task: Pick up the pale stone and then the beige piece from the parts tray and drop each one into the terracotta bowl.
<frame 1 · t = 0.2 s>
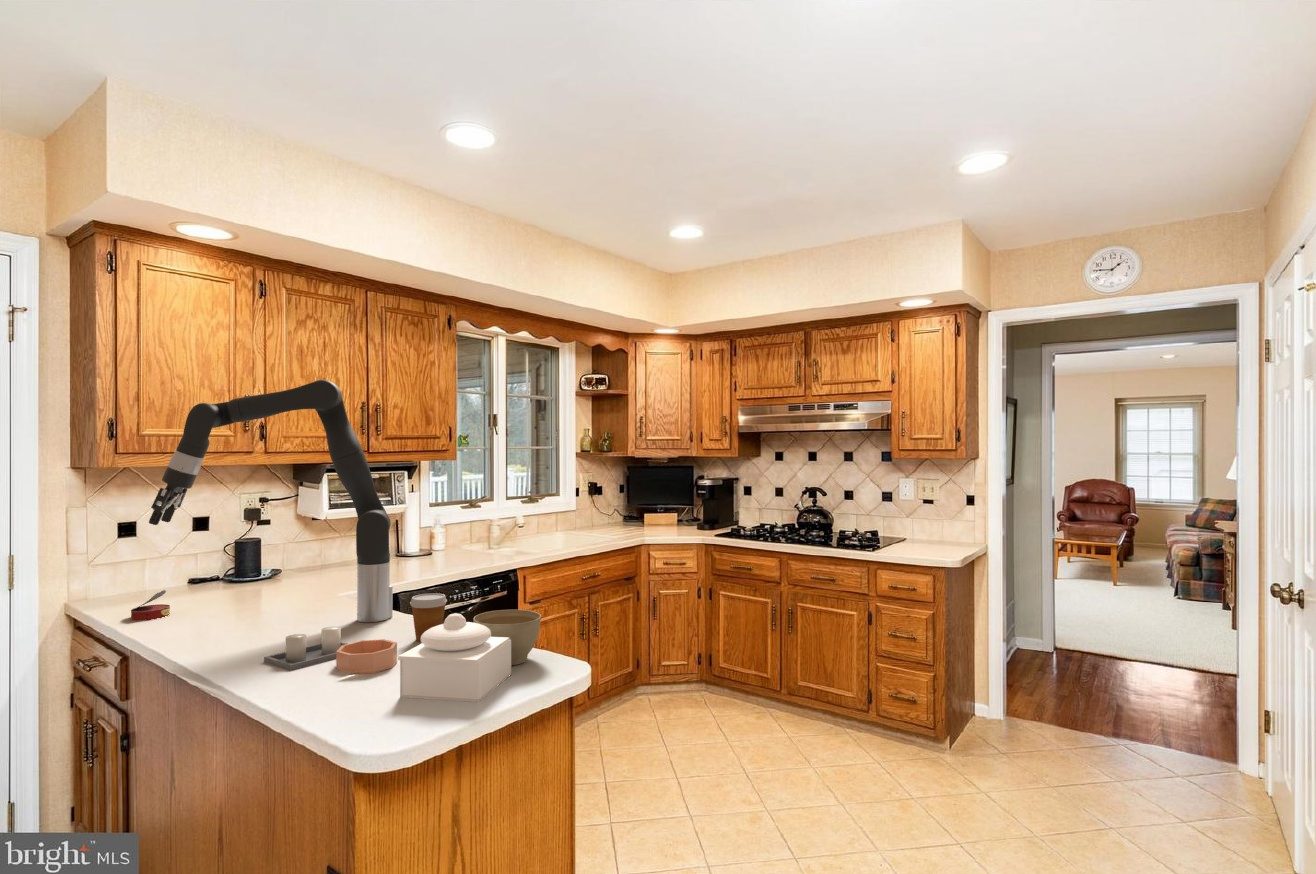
hand: (159, 522, 198), 31 cm above the counter, tool tilted 20°, fingers open, 8 cm apart
terracotta bowl: (367, 665, 167), on the counter
parts tray: (313, 659, 172), on the counter
canned food: (150, 618, 218), on the counter
planter bowl: (507, 662, 170), on the counter
pale stone: (331, 652, 176), point 1 cm above the counter, touching parts tray
white lidded box: (457, 687, 152), on the counter
disposable coffee cup: (428, 642, 188), on the counter
beige piece: (295, 661, 169), point 1 cm above the counter, touching parts tray
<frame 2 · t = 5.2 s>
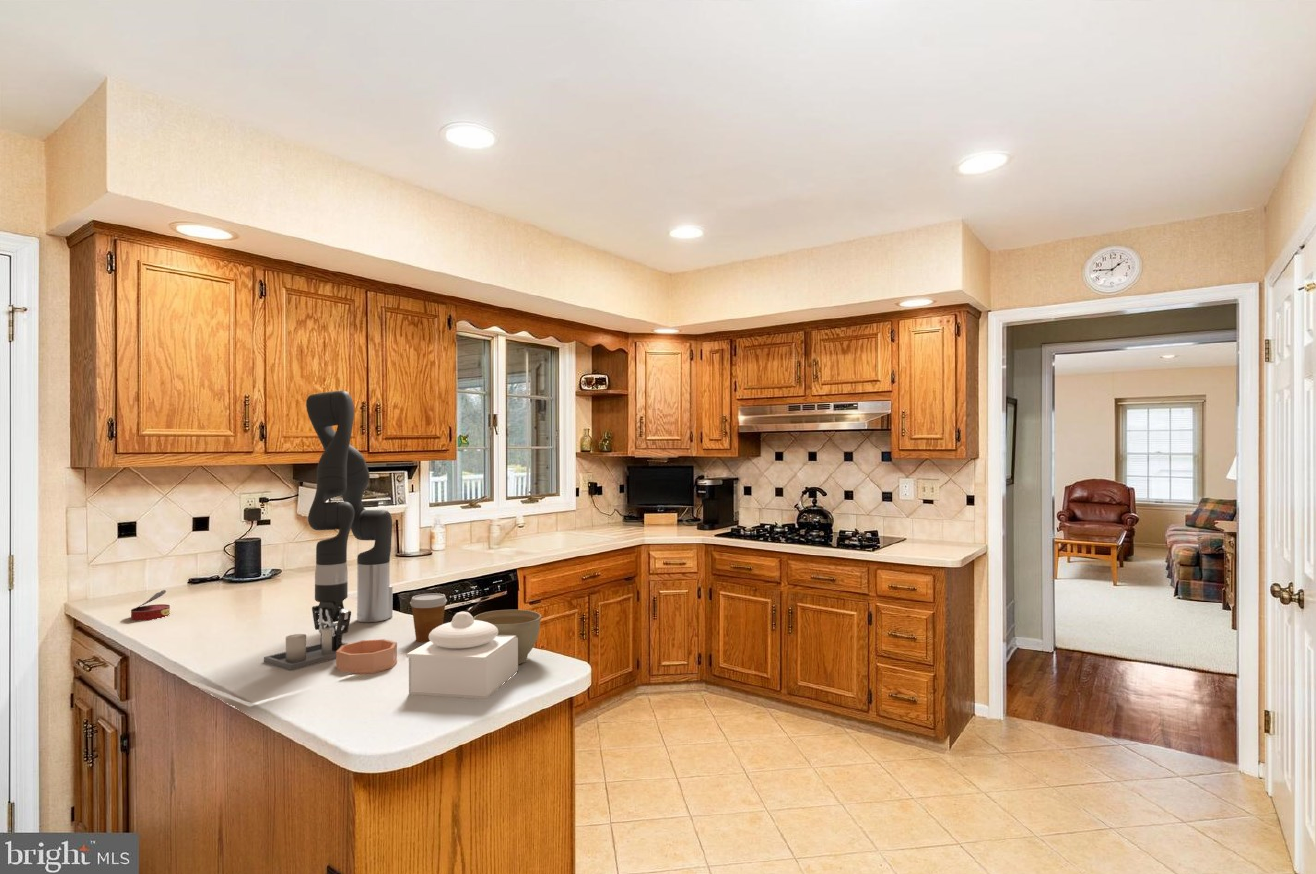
hand: (331, 648, 176), 2 cm above the counter, tool pointing down, fingers closed on pale stone, 4 cm apart
pale stone: (331, 652, 176), point 1 cm above the counter, touching gripper, parts tray
white lidded box: (465, 685, 154), on the counter
everything else where it was.
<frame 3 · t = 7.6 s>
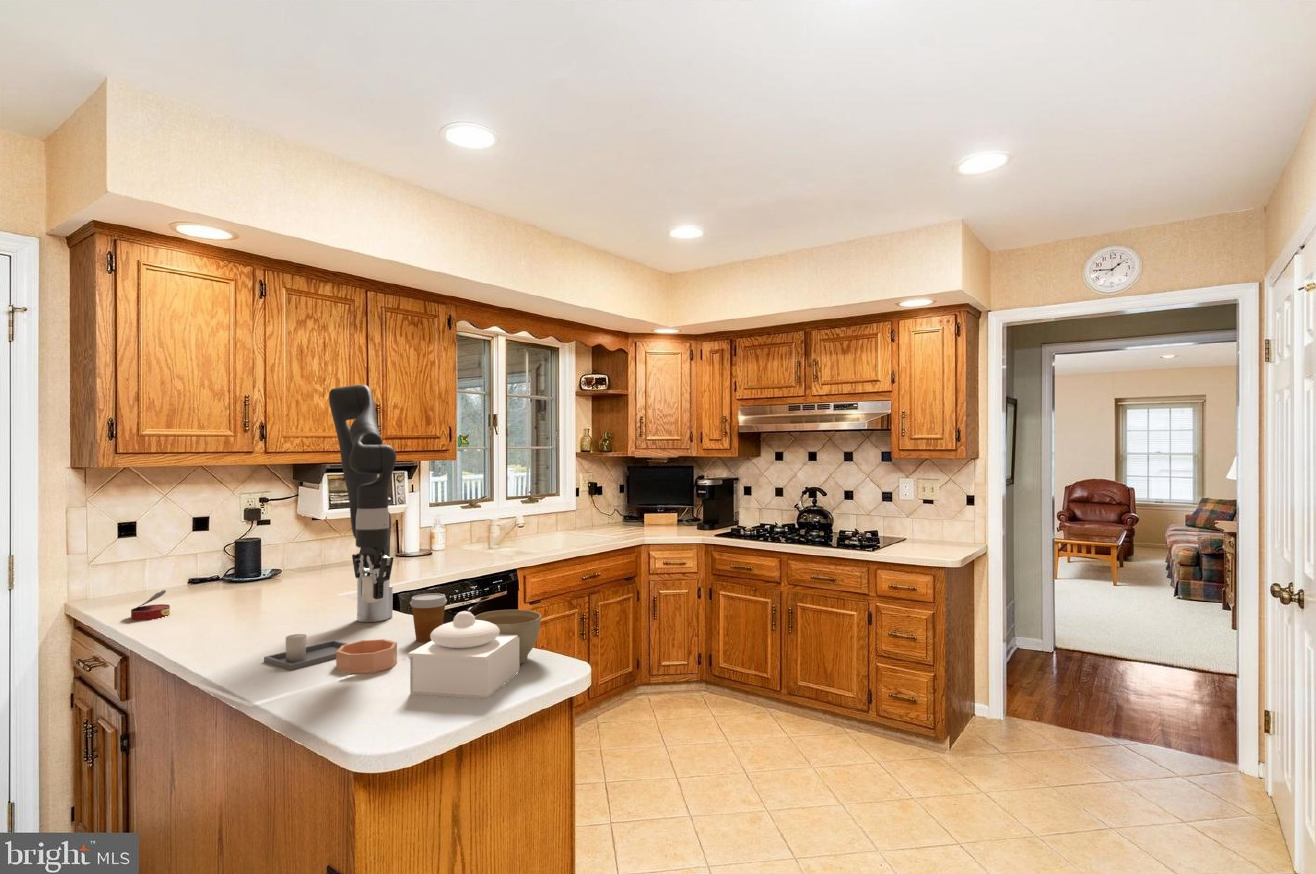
hand: (372, 597, 169), 16 cm above the counter, tool pointing down, fingers closed on pale stone, 4 cm apart
pale stone: (371, 601, 169), point 15 cm above the counter, touching gripper
when the fingers open (4 cm above the counter, at t = 10.1 s): pale stone drops 3 cm, resting on terracotta bowl.
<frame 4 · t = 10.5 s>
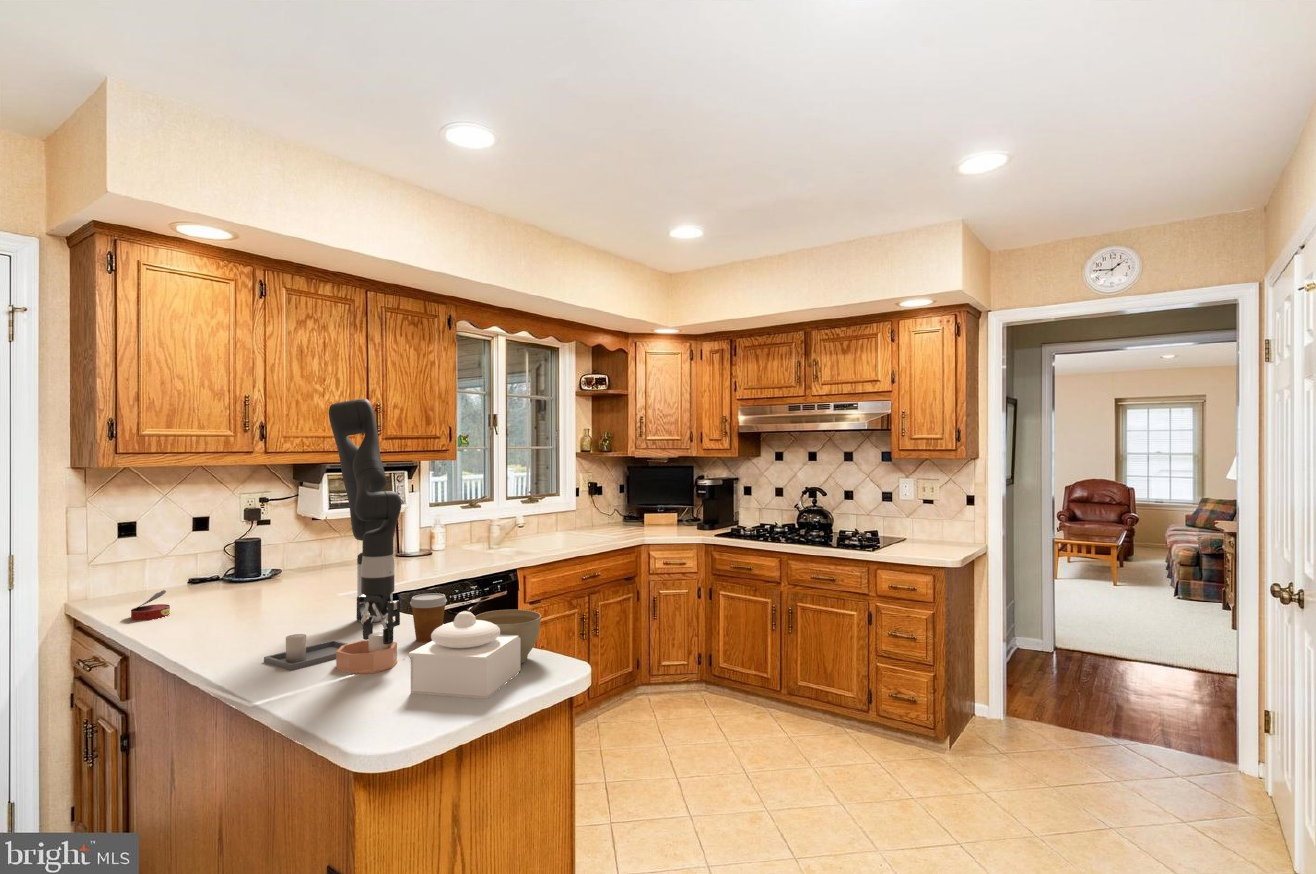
hand: (377, 641, 169), 5 cm above the counter, tool pointing down, fingers open, 7 cm apart
pale stone: (378, 659, 169), point 1 cm above the counter, touching terracotta bowl
everything else where it was.
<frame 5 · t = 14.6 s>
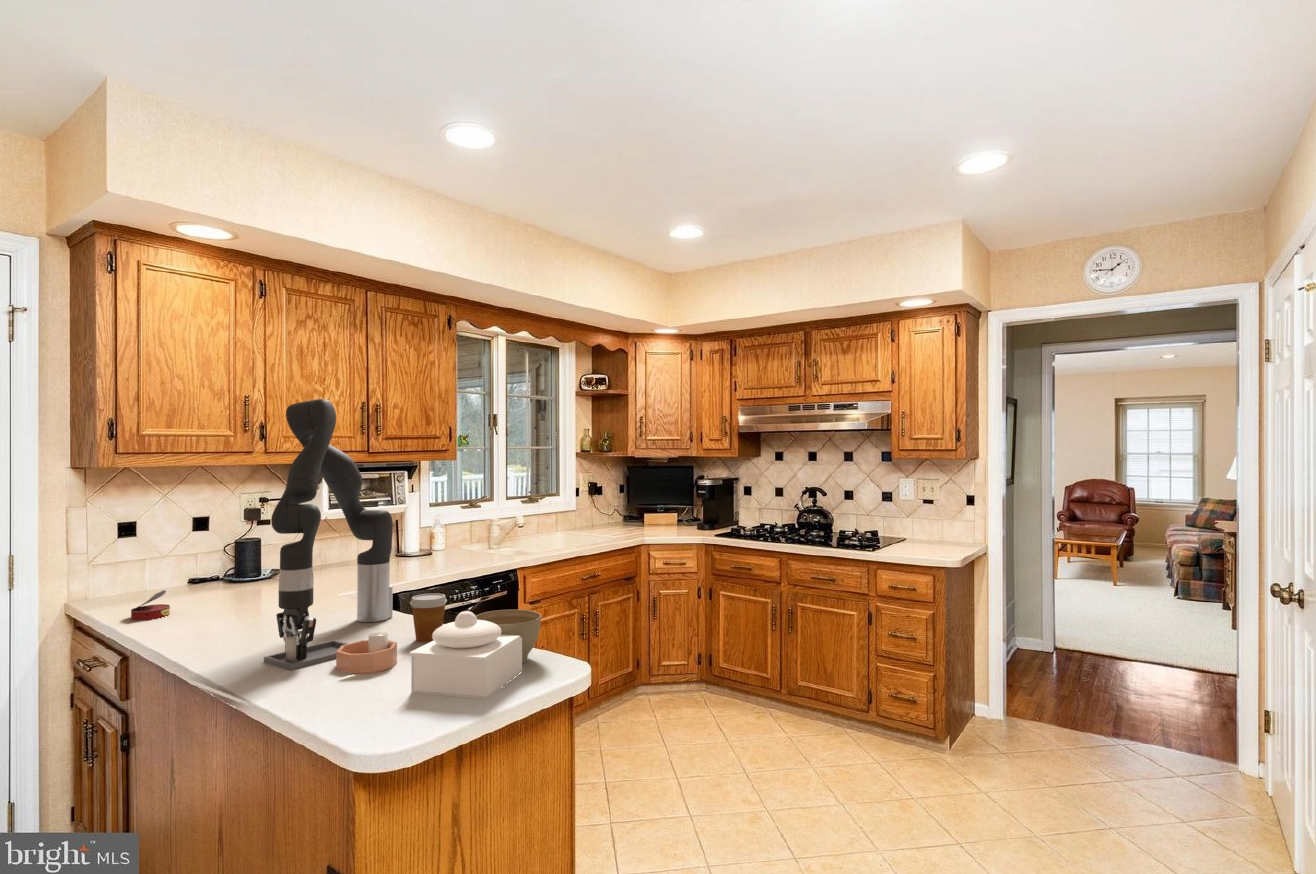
hand: (295, 657, 169), 2 cm above the counter, tool pointing down, fingers closed on beige piece, 4 cm apart
beige piece: (295, 661, 169), point 1 cm above the counter, touching gripper, parts tray
everything else where it was.
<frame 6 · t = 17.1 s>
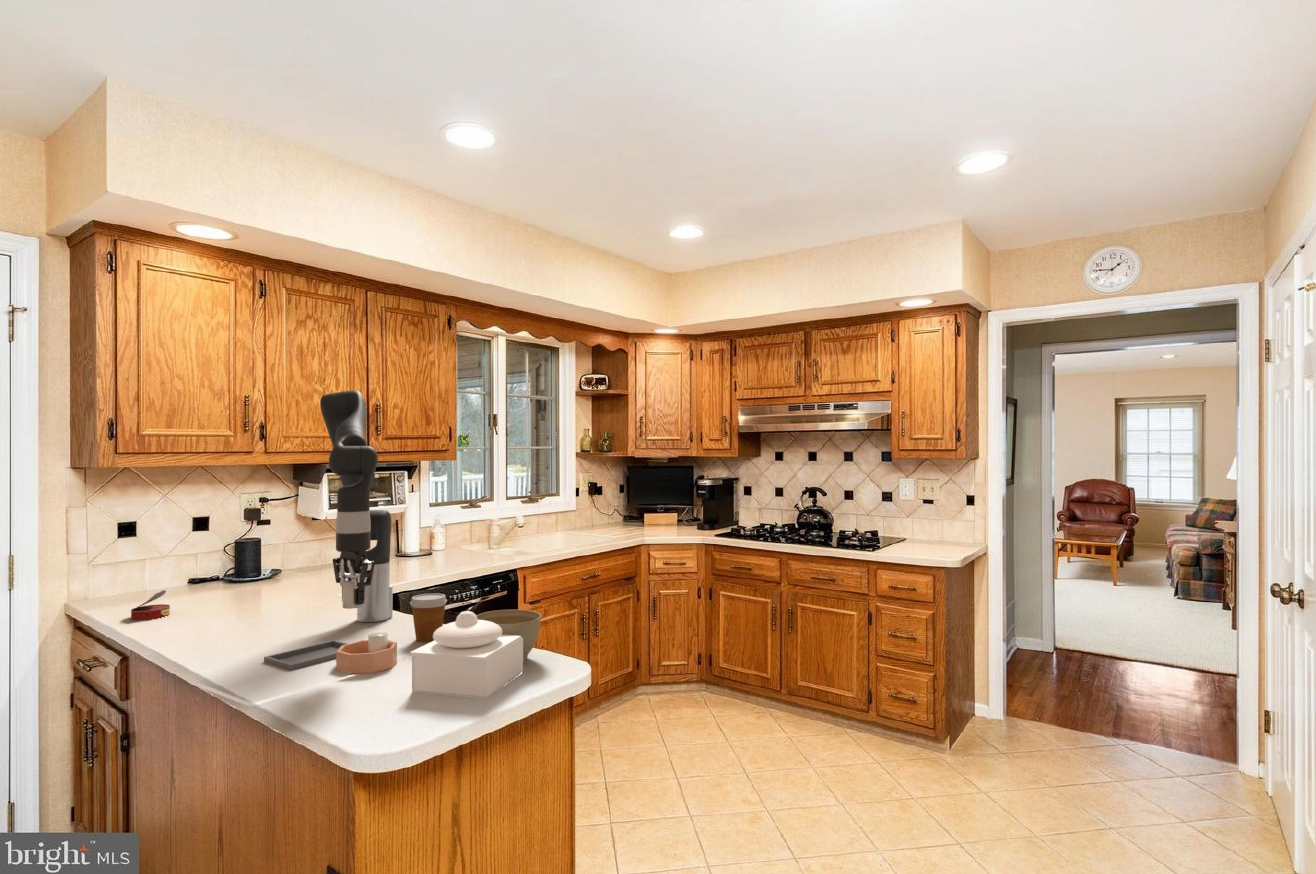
hand: (353, 602, 164), 16 cm above the counter, tool pointing down, fingers closed on beige piece, 4 cm apart
beige piece: (352, 606, 164), point 15 cm above the counter, touching gripper
everything else where it was.
when the fingers open (4 cm above the counter, at t = 19.6 s): beige piece drops 3 cm, resting on terracotta bowl.
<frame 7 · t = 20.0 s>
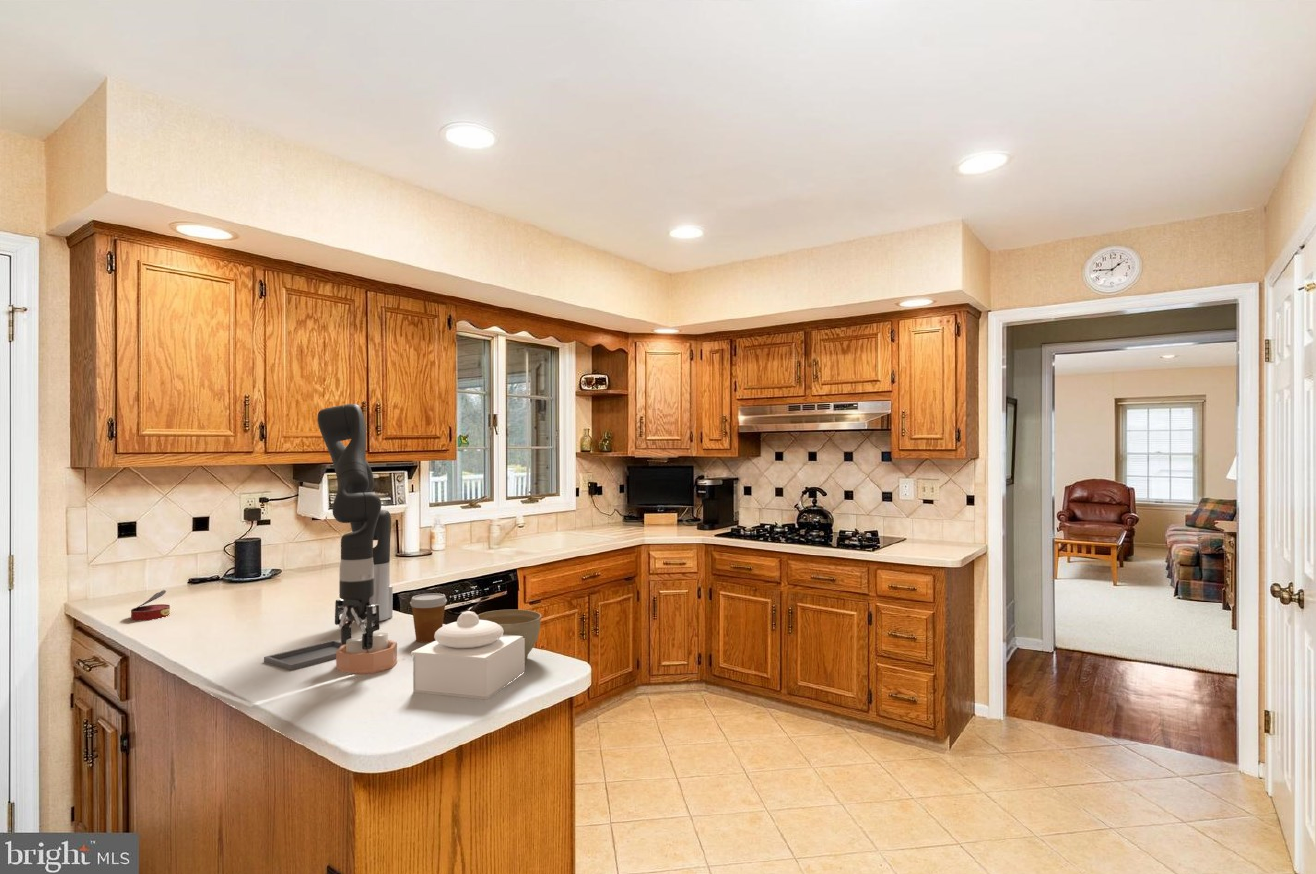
hand: (356, 646, 164), 5 cm above the counter, tool pointing down, fingers open, 8 cm apart
beige piece: (356, 665, 164), point 1 cm above the counter, touching terracotta bowl
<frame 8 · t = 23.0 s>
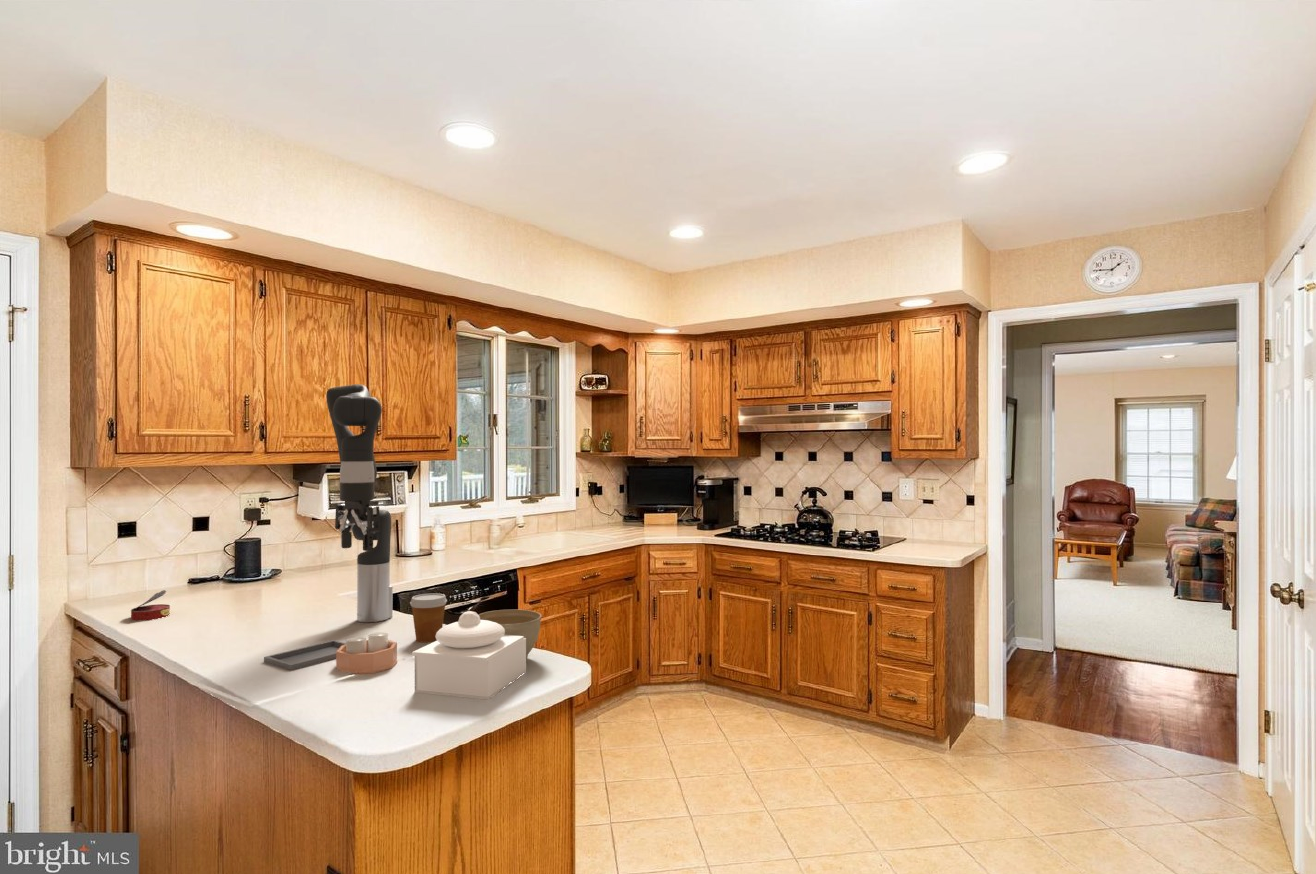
hand: (357, 549, 165), 28 cm above the counter, tool pointing down, fingers open, 8 cm apart
at the end: pale stone inside the target area on the terracotta bowl (2.8 cm from its centre), point 0.8 cm above the terracotta bowl's base; beige piece inside the target area on the terracotta bowl (2.8 cm from its centre), point 0.8 cm above the terracotta bowl's base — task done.
